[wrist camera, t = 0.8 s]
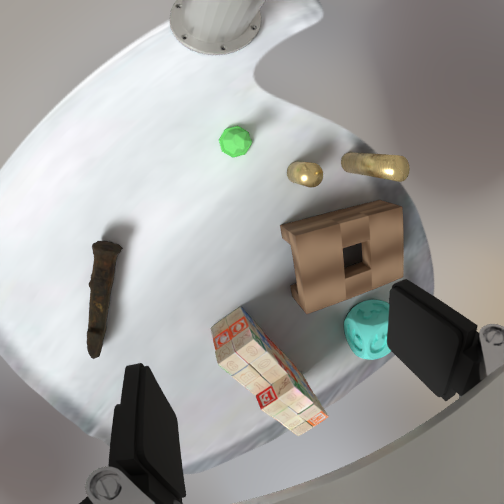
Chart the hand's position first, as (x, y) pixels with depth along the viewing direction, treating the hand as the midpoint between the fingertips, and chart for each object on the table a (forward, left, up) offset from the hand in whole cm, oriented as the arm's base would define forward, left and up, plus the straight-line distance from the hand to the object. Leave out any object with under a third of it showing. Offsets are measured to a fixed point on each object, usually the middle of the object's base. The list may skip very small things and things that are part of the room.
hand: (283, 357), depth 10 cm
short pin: (-1, +14, -32) cm, 35 cm away
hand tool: (+10, -18, -33) cm, 39 cm away
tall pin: (-1, +23, -32) cm, 40 cm away
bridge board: (+12, +19, -32) cm, 39 cm away
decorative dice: (+28, +23, -33) cm, 48 cm away
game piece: (-7, +6, -33) cm, 34 cm away
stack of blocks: (+27, +3, -33) cm, 43 cm away
